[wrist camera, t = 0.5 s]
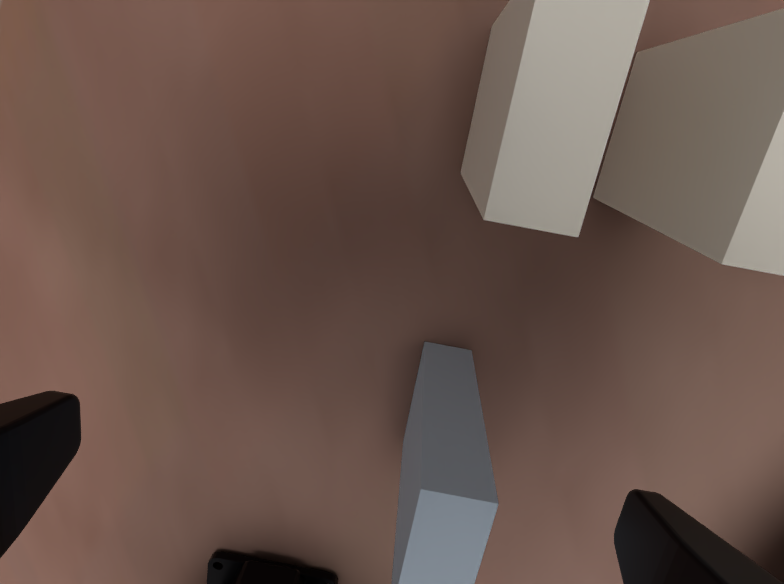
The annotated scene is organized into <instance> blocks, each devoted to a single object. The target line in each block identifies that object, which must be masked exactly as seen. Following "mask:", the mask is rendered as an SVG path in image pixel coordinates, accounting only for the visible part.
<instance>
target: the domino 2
mask: <svg viewBox="0 0 784 584" xmlns="http://www.w3.org/2000/svg"><path fill="white" fill-rule="evenodd" d="M649 1H650V0H509V2H508V3H507V5H506V6H505V7H504V9H503V10H502V12H501V13H500V15H499V16H498V18H497V19H496V21H495V22H494V23H493V25H492V27H491V32H490V37H489V42H488V46H487V51H486V56H485V60H484V65H483V70H482V74H481V79H480V84H479V88H478V93H477V98H476V102H475V107H474V112H473V116H472V121H471V126H470V131H469V135H468V140H467V145H466V149H465V154H464V159H463V163H462V168H461V175H462V178H463V180H464V182H465V184H466V186H467V188H468V190H469V192H470V194H471V196H472V198H473V200H474V202H475V204H476V206H477V208H478V210H479V212H480V214H481V216H482V218H483V220H487V221H492V222H497V223H503V224H508V225H514V226H519V227H524V228H530V229H535V230H541V231H546V232H551V233H557V234H562V235H567V236H573V237H579V233H580V230H581V227H582V223H583V220H584V217H585V213H586V210H587V207H588V204H589V200H590V197H591V194H592V190H593V187H594V184H595V180H596V177H597V174H598V170H599V167H600V164H601V160H602V157H603V154H604V150H605V147H606V144H607V140H608V137H609V134H610V131H611V127H612V124H613V121H614V117H615V114H616V111H617V107H618V104H619V101H620V97H621V94H622V91H623V87H624V84H625V81H626V77H627V74H628V71H629V68H630V64H631V61H632V58H633V54H634V51H635V48H636V44H637V41H638V38H639V34H640V31H641V28H642V24H643V21H644V18H645V14H646V11H647V8H648V5H649Z"/></svg>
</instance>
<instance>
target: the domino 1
mask: <svg viewBox="0 0 784 584" xmlns="http://www.w3.org/2000/svg"><path fill="white" fill-rule="evenodd" d="M497 507H498V498H497V492H496V487H495V481H494V475H493V470H492V464H491V458H490V452H489V447H488V441H487V435H486V430H485V424H484V418H483V412H482V407H481V401H480V395H479V390H478V384H477V378H476V373H475V367H474V361H473V355H472V350H468V349H462V348H457V347H452V346H446V345H441V344H436V343H430V342H425V341H424V346H423V351H422V355H421V360H420V365H419V370H418V374H417V379H416V384H415V388H414V393H413V398H412V402H411V407H410V412H409V416H408V421H407V426H406V430H405V435H404V440H403V450H402V462H401V475H400V487H399V499H398V511H397V523H396V535H395V547H394V560H393V572H392V584H474V583H475V580H476V577H477V573H478V570H479V567H480V564H481V560H482V557H483V554H484V550H485V547H486V544H487V540H488V537H489V534H490V530H491V527H492V524H493V520H494V517H495V514H496V511H497Z"/></svg>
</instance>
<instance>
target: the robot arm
mask: <svg viewBox="0 0 784 584" xmlns="http://www.w3.org/2000/svg"><path fill="white" fill-rule="evenodd" d="M80 442H81V420H80V402H79V399H78V398H77V396H75V395H74V394H69V393H63V392H57V391H46V392H42V393H39V394H35V395H31V396H28V397H24V398H20V399H16V400H13V401H9V402H5V403H2V404H0V558H1V557H2V555H3V554H4V553H5V552H6V551H7V549H8V548H9V547H10V546H11V544H12V543H13V542H14V541H15V539H16V538H17V537H18V536H19V534H20V533H21V532H22V530H23V529H24V528H25V526H26V525H27V524H28V522H29V521H30V519H31V518H32V516H33V515H34V514H35V512H36V511H37V509H38V508H39V506H40V505H41V504H42V502H43V501H44V499H45V498H46V496H47V495H48V493H49V492H50V491H51V489H52V488H53V486H54V485H55V483H56V482H57V481H58V479H59V478H60V476H61V475H62V473H63V472H64V471H65V469H66V468H67V466H68V465H69V463H70V462H71V461H72V459H73V458H74V456H75V455H76V453H77V451H78V449H79V446H80ZM614 544H615V549H616V554H617V558H618V562H619V566H620V571H621V575H622V579H623V583H624V584H784V583H782V582H781V581H780V580H778V579H777V578H775V577H774V576H773V575H771V574H770V573H769V572H767V571H766V570H764V569H763V568H762V567H760V566H759V565H758V564H756V563H755V562H753V561H752V560H751V559H749V558H748V557H746V556H745V555H744V554H742V553H741V552H740V551H738V550H737V549H735V548H734V547H733V546H731V545H730V544H728V543H727V542H726V541H724V540H723V539H722V538H720V537H719V536H717V535H716V534H715V533H713V532H712V531H711V530H709V529H708V528H706V527H705V526H704V525H702V524H701V523H699V522H698V521H697V520H695V519H694V518H693V517H691V516H690V515H688V514H687V513H686V512H684V511H683V510H682V509H680V508H679V507H677V506H676V505H675V504H673V503H672V502H670V501H669V500H668V499H666V498H665V497H664V496H662V495H661V494H659V493H656V492H650V491H644V490H638V489H634V490H632V491H630V492H629V493H628V495H627V497H626V500H625V503H624V505H623V508H622V511H621V514H620V517H619V519H618V522H617V525H616V528H615V533H614ZM219 562H220V563H219ZM327 583H329V584H338V579H337V577H336V576H335V575H334V574H332V573H329V572H324V571H319V570H314V569H309V568H304V567H298V566H293V565H288V564H283V563H278V562H272V561H267V560H262V559H257V558H252V557H247V556H241V555H236V554H231V553H226V552H215V553H214V554H212V556H211V558H210V560H209V563H208V573H207V584H327Z"/></svg>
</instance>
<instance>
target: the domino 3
mask: <svg viewBox="0 0 784 584" xmlns="http://www.w3.org/2000/svg"><path fill="white" fill-rule="evenodd" d="M593 198H594V199H596V200H598V201H600V202H602V203H604V204H606V205H608V206H610V207H612V208H614V209H616V210H618V211H620V212H621V213H623V214H625V215H627V216H629V217H631V218H633V219H635V220H637V221H639V222H641V223H643V224H645V225H647V226H649V227H650V228H652V229H654V230H656V231H658V232H660V233H662V234H664V235H666V236H668V237H670V238H672V239H674V240H676V241H678V242H680V243H681V244H683V245H685V246H687V247H689V248H691V249H693V250H695V251H697V252H699V253H701V254H703V255H705V256H707V257H709V258H710V259H712V260H714V261H716V262H718V263H720V264H723V265H729V266H734V267H739V268H745V269H750V270H756V271H761V272H766V273H772V274H777V275H783V276H784V8H783V9H780V10H776V11H773V12H770V13H766V14H763V15H760V16H756V17H753V18H749V19H746V20H743V21H739V22H736V23H733V24H729V25H726V26H723V27H719V28H716V29H713V30H709V31H706V32H703V33H699V34H696V35H693V36H689V37H686V38H683V39H679V40H676V41H672V42H669V43H666V44H662V45H659V46H656V47H652V48H649V49H646V50H642V51H639V52H637V53H636V57H635V60H634V63H633V67H632V70H631V73H630V76H629V80H628V83H627V86H626V90H625V93H624V96H623V99H622V103H621V106H620V109H619V113H618V116H617V119H616V123H615V126H614V129H613V132H612V136H611V139H610V142H609V146H608V149H607V152H606V156H605V159H604V162H603V165H602V169H601V172H600V175H599V179H598V182H597V185H596V189H595V192H594V195H593Z"/></svg>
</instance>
